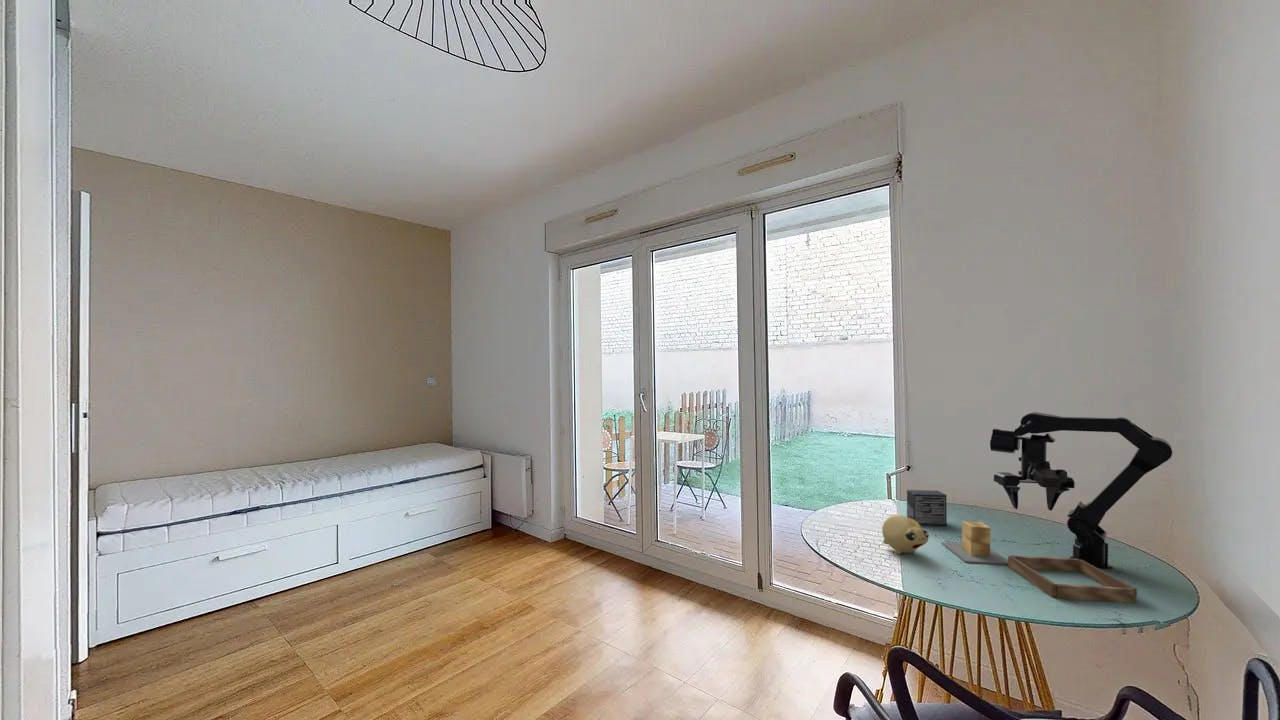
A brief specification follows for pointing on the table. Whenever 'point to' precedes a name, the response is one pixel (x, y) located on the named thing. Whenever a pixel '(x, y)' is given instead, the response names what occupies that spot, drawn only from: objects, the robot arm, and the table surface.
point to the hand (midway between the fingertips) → (1032, 509)
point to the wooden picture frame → (1111, 592)
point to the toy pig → (903, 534)
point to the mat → (968, 558)
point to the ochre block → (976, 538)
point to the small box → (927, 507)
